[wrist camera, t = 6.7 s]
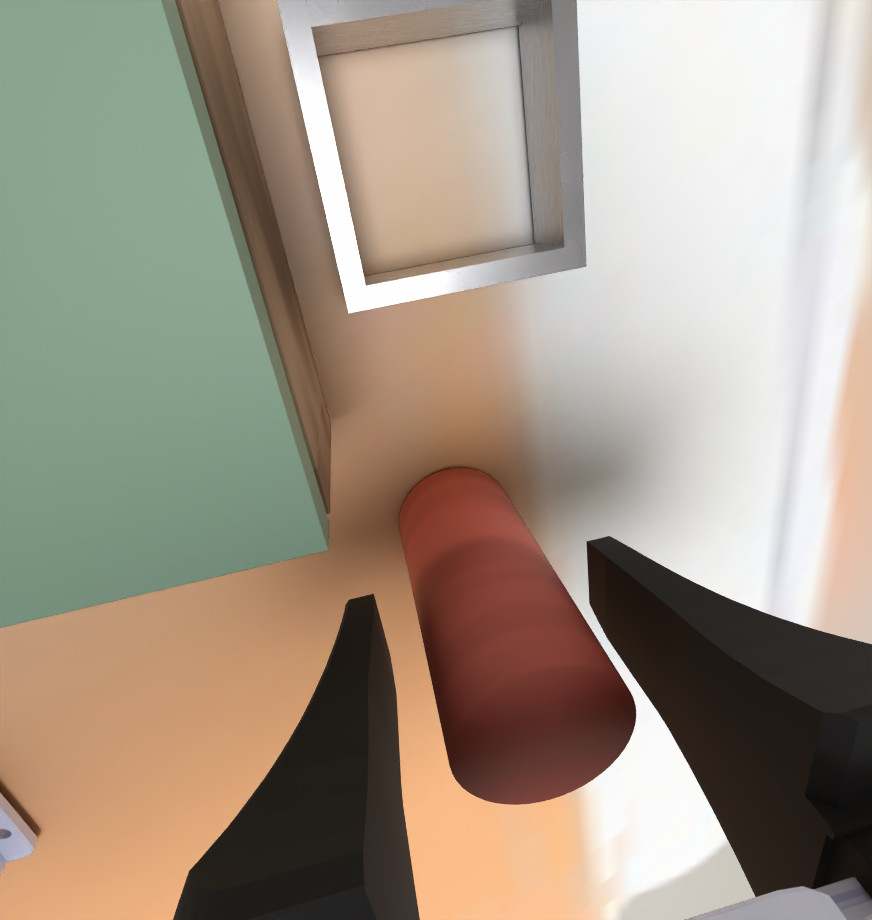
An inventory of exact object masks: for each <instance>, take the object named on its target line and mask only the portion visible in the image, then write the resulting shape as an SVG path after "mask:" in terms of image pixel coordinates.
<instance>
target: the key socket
mask: <svg viewBox="0 0 872 920" xmlns="http://www.w3.org/2000/svg"><path fill="white" fill-rule="evenodd" d="M277 4H278V8H279V13H280V17H281V21H282V26H283V30H284V34H285V39H286V43H287V47H288V52H289V56H290V60H291V65H292V69H293V73H294V78H295V82H296V87H297V91H298V95H299V100H300V104H301V108H302V113H303V117H304V121H305V126H306V130H307V134H308V139H309V143H310V147H311V152H312V156H313V161H314V165H315V169H316V174H317V178H318V182H319V187H320V191H321V195H322V200H323V204H324V208H325V213H326V217H327V221H328V226H329V230H330V235H331V239H332V243H333V248H334V252H335V256H336V261H337V265H338V269H339V274H340V278H341V282H342V287H343V291H344V296H345V300H346V304H347V309H348V313H353V312H358V311H363V310H368V309H373V308H378V307H383V306H388V305H393V304H398V303H403V302H409V301H414V300H419V299H424V298H429V297H434V296H439V295H444V294H449V293H454V292H459V291H464V290H469V289H474V288H480V287H485V286H490V285H495V284H500V283H505V282H510V281H515V280H520V279H525V278H530V277H535V276H540V275H546V274H551V273H556V272H561V271H566V270H571V269H576V268H581V267H586V245H585V218H584V191H583V164H582V137H581V109H580V82H579V55H578V28H577V1H576V0H277ZM511 26H518V27H519V40H520V54H521V67H522V80H523V93H524V107H525V120H526V133H527V146H528V160H529V173H530V186H531V199H532V213H533V226H534V239H535V244H531V245H526V246H521V247H515V248H510V249H505V250H500V251H494V252H489V253H484V254H479V255H474V256H468V257H463V258H458V259H453V260H447V261H442V262H437V263H432V264H427V265H421V266H416V267H411V268H406V269H400V270H395V271H390V272H385V273H380V274H374V275H369V276H364V275H363V271H362V266H361V261H360V256H359V252H358V247H357V242H356V237H355V233H354V228H353V223H352V219H351V214H350V209H349V204H348V200H347V195H346V190H345V185H344V181H343V176H342V171H341V166H340V162H339V157H338V152H337V147H336V143H335V138H334V133H333V129H332V124H331V119H330V114H329V110H328V105H327V100H326V95H325V91H324V86H323V81H322V76H321V72H320V67H319V62H318V58H317V56H322V55H329V54H335V53H342V52H348V51H355V50H361V49H368V48H374V47H381V46H387V45H394V44H400V43H407V42H413V41H420V40H427V39H433V38H440V37H446V36H453V35H459V34H466V33H472V32H479V31H485V30H492V29H498V28H505V27H511Z"/></svg>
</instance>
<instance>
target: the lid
mask: <svg viewBox="0 0 872 920" xmlns="http://www.w3.org/2000/svg"><path fill="white" fill-rule="evenodd" d="M328 535H329V521H328V517H327V514H326V511H325V507H324V504H323V500H322V497H321V494H320V490H319V487H318V483H317V480H316V477H315V473H314V470H313V466H312V463H311V460H310V456H309V453H308V450H307V446H306V443H305V439H304V436H303V433H302V429H301V426H300V422H299V419H298V416H297V412H296V409H295V406H294V402H293V399H292V395H291V392H290V389H289V385H288V382H287V378H286V375H285V372H284V368H283V365H282V361H281V358H280V355H279V351H278V348H277V345H276V341H275V338H274V334H273V331H272V328H271V324H270V321H269V317H268V314H267V311H266V307H265V304H264V300H263V297H262V294H261V290H260V287H259V284H258V280H257V277H256V273H255V270H254V267H253V263H252V260H251V256H250V253H249V250H248V246H247V243H246V240H245V236H244V233H243V229H242V226H241V223H240V219H239V216H238V212H237V209H236V206H235V202H234V199H233V195H232V192H231V189H230V185H229V182H228V179H227V175H226V172H225V168H224V165H223V162H222V158H221V155H220V151H219V148H218V145H217V141H216V138H215V135H214V131H213V128H212V124H211V121H210V118H209V114H208V111H207V107H206V104H205V101H204V97H203V94H202V90H201V87H200V84H199V80H198V77H197V74H196V70H195V67H194V63H193V60H192V57H191V53H190V50H189V46H188V43H187V40H186V36H185V33H184V30H183V26H182V23H181V19H180V16H179V13H178V9H177V6H176V2H175V0H0V628H2V627H6V626H10V625H14V624H19V623H23V622H27V621H31V620H36V619H40V618H44V617H48V616H53V615H57V614H61V613H65V612H70V611H74V610H78V609H82V608H86V607H91V606H95V605H99V604H103V603H108V602H112V601H116V600H120V599H125V598H129V597H133V596H137V595H142V594H146V593H150V592H154V591H159V590H163V589H167V588H171V587H176V586H180V585H184V584H188V583H192V582H197V581H201V580H205V579H209V578H214V577H218V576H222V575H226V574H231V573H235V572H239V571H243V570H248V569H252V568H256V567H260V566H265V565H269V564H273V563H277V562H281V561H286V560H290V559H294V558H298V557H303V556H307V555H311V554H315V553H320V552H324V551H328Z"/></svg>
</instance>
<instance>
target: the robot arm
mask: <svg viewBox="0 0 872 920" xmlns="http://www.w3.org/2000/svg"><path fill="white" fill-rule="evenodd" d="M587 559H588V580H589V602H590V605H591V607H592V609H593V611H594V613H595V615H596V617H597V619H598V621H599V623H600V625H601V627H602V629H603V631H604V633H605V635H606V637H607V638H608V640H609V641H610V643H611V644H612V646H613V647H614V649H615V650H616V652H617V653H618V655H619V656H620V658H621V659H622V661H623V662H624V664H625V665H626V666H627V668H628V669H629V671H630V672H631V674H632V675H633V677H634V678H635V679H636V681H637V682H638V684H639V685H640V687H641V688H642V690H643V691H644V692H645V694H646V695H647V697H648V698H649V700H650V701H651V703H652V704H653V705H654V707H655V708H656V710H657V711H658V713H659V714H660V716H661V717H662V719H663V721H664V722H665V724H666V725H667V727H668V729H669V730H670V732H671V734H672V736H673V737H674V739H675V741H676V743H677V745H678V746H679V748H680V750H681V752H682V753H683V755H684V757H685V759H686V761H687V762H688V764H689V766H690V768H691V770H692V772H693V774H694V775H695V777H696V779H697V781H698V783H699V785H700V787H701V789H702V790H703V792H704V794H705V796H706V798H707V800H708V802H709V804H710V805H711V807H712V809H713V811H714V813H715V815H716V817H717V819H718V821H719V823H720V825H721V827H722V829H723V831H724V833H725V835H726V837H727V839H728V841H729V843H730V845H731V847H732V849H733V851H734V853H735V855H736V857H737V859H738V861H739V863H740V865H741V867H742V869H743V871H744V873H745V875H746V878H747V880H748V882H749V884H750V886H751V888H752V890H753V892H754V894H755V896H756V897H755V898H752V899H749V900H746V901H742V902H739V903H736V904H734V905H730V906H727V907H724V908H721V909H717V910H714V911H711V912H708V913H704V914H701V915H698V916H695V917H692V918H689V919H685V920H872V644H868V643H864V642H860V641H856V640H852V639H848V638H844V637H840V636H836V635H833V634H829V633H825V632H822V631H818V630H815V629H812V628H809V627H805V626H802V625H799V624H796V623H793V622H790V621H787V620H783V619H780V618H778V617H775V616H772V615H769V614H766V613H764V612H761V611H759V610H756V609H753V608H751V607H748V606H746V605H743V604H741V603H738V602H736V601H733V600H731V599H729V598H726V597H724V596H722V595H720V594H717V593H715V592H713V591H711V590H709V589H707V588H705V587H703V586H700V585H698V584H696V583H694V582H692V581H690V580H688V579H686V578H684V577H682V576H680V575H679V574H677V573H675V572H673V571H671V570H669V569H667V568H665V567H664V566H662V565H660V564H658V563H656V562H655V561H653V560H651V559H649V558H647V557H646V556H644V555H642V554H640V553H639V552H637V551H635V550H633V549H632V548H630V547H628V546H626V545H625V544H623V543H621V542H619V541H618V540H616V539H614V538H612V537H610V536H608V537H604V538H599V539H595V540H591V541H587ZM37 842H38V838H37V836H36V835H35V834H34V832H33V831H32V830H31V829H30V828H29V826H28V825H27V824H26V823H25V822H24V820H23V819H22V818H21V817H20V816H19V814H18V813H17V812H16V811H15V810H14V808H13V807H12V806H11V805H10V804H9V802H8V801H7V800H6V799H5V798H4V796H3V795H2V794H1V793H0V874H1V872H2V870H3V868H4V866H5V864H6V862H9V861H13V860H16V859H20V858H24V857H26V856H28V855H30V854H31V853H32V852H33V851H34V849H35V846H36V844H37ZM173 920H420V918H419V912H418V905H417V899H416V892H415V885H414V878H413V872H412V865H411V858H410V851H409V844H408V837H407V830H406V823H405V816H404V809H403V800H402V789H401V773H400V754H399V734H398V715H397V697H396V688H395V682H394V676H393V669H392V663H391V657H390V653H389V649H388V645H387V641H386V638H385V634H384V630H383V627H382V623H381V619H380V616H379V612H378V608H377V605H376V601H375V597H374V594H371V595H367V596H363V597H359V598H355V599H350V600H349V601H348V602H347V604H346V606H345V611H344V615H343V619H342V622H341V625H340V629H339V632H338V635H337V638H336V641H335V644H334V646H333V649H332V652H331V654H330V657H329V659H328V662H327V665H326V667H325V670H324V672H323V674H322V676H321V679H320V681H319V683H318V685H317V687H316V690H315V692H314V694H313V696H312V698H311V701H310V703H309V705H308V706H307V708H306V710H305V712H304V714H303V716H302V718H301V720H300V722H299V723H298V725H297V727H296V729H295V731H294V732H293V734H292V736H291V738H290V739H289V741H288V743H287V744H286V746H285V747H284V749H283V751H282V752H281V754H280V755H279V757H278V759H277V760H276V762H275V763H274V765H273V766H272V768H271V769H270V771H269V772H268V774H267V775H266V777H265V778H264V780H263V781H262V782H261V784H260V785H259V786H258V788H257V789H256V791H255V792H254V793H253V795H252V796H251V797H250V799H249V800H248V801H247V803H246V804H245V805H244V807H243V808H242V809H241V811H240V812H239V814H238V815H237V816H236V817H235V819H234V820H233V821H232V822H231V824H230V825H229V826H228V827H227V829H226V830H225V831H224V832H223V833H222V834H221V836H220V837H219V838H218V839H217V840H216V841H215V842H214V844H213V845H212V846H211V847H210V848H209V849H208V851H207V852H206V853H205V854H204V855H203V856H202V858H201V859H200V860H199V861H198V862H197V863H196V864H195V865H194V866H193V867H192V869H191V870H190V871H189V873H188V876H187V879H186V882H185V885H184V888H183V891H182V894H181V897H180V900H179V903H178V906H177V909H176V912H175V915H174V919H173Z"/></svg>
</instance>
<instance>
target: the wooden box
mask: <svg viewBox="0 0 872 920" xmlns="http://www.w3.org/2000/svg"><path fill="white" fill-rule="evenodd" d="M175 2H176V6H177V9H178V13H179V16H180V19H181V23H182V26H183V30H184V33H185V36H186V40H187V43H188V46H189V50H190V53H191V57H192V60H193V63H194V67H195V70H196V74H197V77H198V80H199V84H200V87H201V90H202V94H203V97H204V101H205V104H206V107H207V111H208V114H209V118H210V121H211V124H212V128H213V131H214V135H215V138H216V141H217V145H218V148H219V151H220V155H221V158H222V162H223V165H224V168H225V172H226V175H227V179H228V182H229V185H230V189H231V192H232V195H233V199H234V202H235V206H236V209H237V212H238V216H239V219H240V223H241V226H242V229H243V233H244V236H245V240H246V243H247V246H248V250H249V253H250V256H251V260H252V263H253V267H254V270H255V273H256V277H257V280H258V284H259V287H260V290H261V294H262V297H263V300H264V304H265V307H266V311H267V314H268V317H269V321H270V324H271V328H272V331H273V334H274V338H275V341H276V345H277V348H278V351H279V355H280V358H281V361H282V365H283V368H284V372H285V375H286V378H287V382H288V385H289V389H290V392H291V395H292V399H293V402H294V406H295V409H296V412H297V416H298V419H299V422H300V426H301V429H302V433H303V436H304V439H305V443H306V446H307V450H308V453H309V456H310V460H311V463H312V466H313V470H314V473H315V477H316V480H317V483H318V487H319V490H320V494H321V497H322V500H323V504H324V507H325V511H326V514H329V513H330V465H331V423H330V420H329V416H328V412H327V408H326V405H325V401H324V397H323V393H322V390H321V386H320V382H319V379H318V375H317V371H316V367H315V364H314V360H313V356H312V352H311V349H310V345H309V341H308V338H307V334H306V330H305V326H304V323H303V319H302V315H301V311H300V308H299V304H298V300H297V296H296V293H295V289H294V285H293V282H292V278H291V274H290V270H289V267H288V263H287V259H286V255H285V252H284V248H283V244H282V241H281V237H280V233H279V229H278V226H277V222H276V218H275V214H274V211H273V207H272V203H271V199H270V196H269V192H268V188H267V185H266V181H265V177H264V173H263V170H262V166H261V162H260V158H259V155H258V151H257V147H256V144H255V140H254V136H253V132H252V129H251V125H250V121H249V117H248V114H247V110H246V106H245V102H244V99H243V95H242V91H241V88H240V84H239V80H238V76H237V73H236V69H235V65H234V61H233V58H232V54H231V50H230V47H229V43H228V39H227V35H226V32H225V28H224V24H223V20H222V17H221V13H220V9H219V5H218V2H217V0H175Z"/></svg>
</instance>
